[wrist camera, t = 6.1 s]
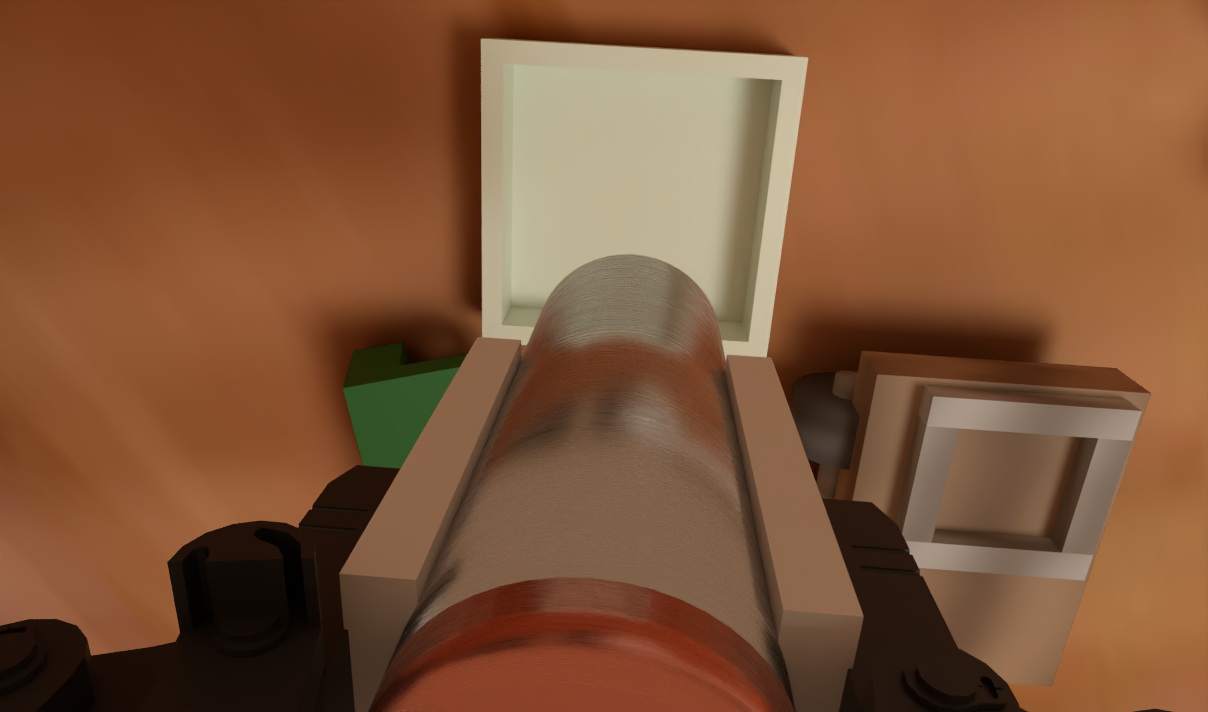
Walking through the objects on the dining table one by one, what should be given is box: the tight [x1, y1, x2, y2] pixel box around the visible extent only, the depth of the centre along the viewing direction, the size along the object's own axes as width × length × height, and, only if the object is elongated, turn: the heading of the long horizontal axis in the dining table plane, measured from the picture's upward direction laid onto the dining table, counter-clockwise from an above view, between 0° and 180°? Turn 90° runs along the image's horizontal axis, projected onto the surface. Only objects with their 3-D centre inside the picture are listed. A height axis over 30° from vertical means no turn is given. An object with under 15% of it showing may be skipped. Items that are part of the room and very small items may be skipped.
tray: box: [481, 38, 808, 359], centre depth 32 cm, size 12×12×3 cm
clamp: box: [343, 342, 467, 468], centre depth 36 cm, size 12×6×9 cm, turn 1°
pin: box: [368, 254, 796, 712], centre depth 12 cm, size 4×4×12 cm
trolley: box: [790, 351, 1151, 687], centre depth 34 cm, size 13×14×6 cm
